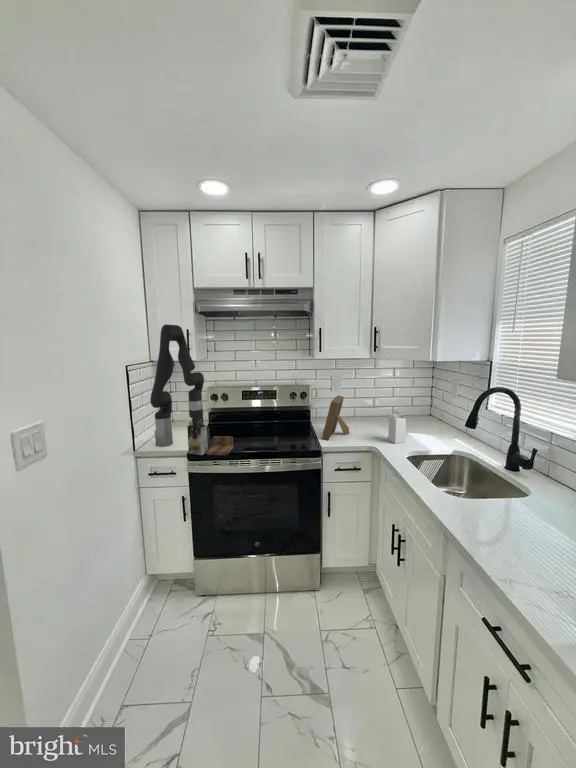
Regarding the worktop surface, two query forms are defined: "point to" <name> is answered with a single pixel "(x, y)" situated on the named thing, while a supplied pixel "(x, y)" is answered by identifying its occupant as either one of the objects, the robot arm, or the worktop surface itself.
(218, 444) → the ledge
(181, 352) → the robot arm
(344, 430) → the photo frame
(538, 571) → the worktop surface
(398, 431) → the milk carton
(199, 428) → the coffee box
